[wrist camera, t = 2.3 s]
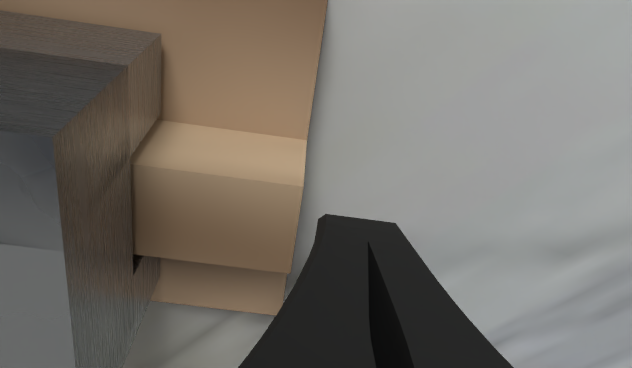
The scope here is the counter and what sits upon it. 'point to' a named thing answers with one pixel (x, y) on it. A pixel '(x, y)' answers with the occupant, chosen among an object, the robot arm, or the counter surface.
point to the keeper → (72, 189)
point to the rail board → (219, 89)
